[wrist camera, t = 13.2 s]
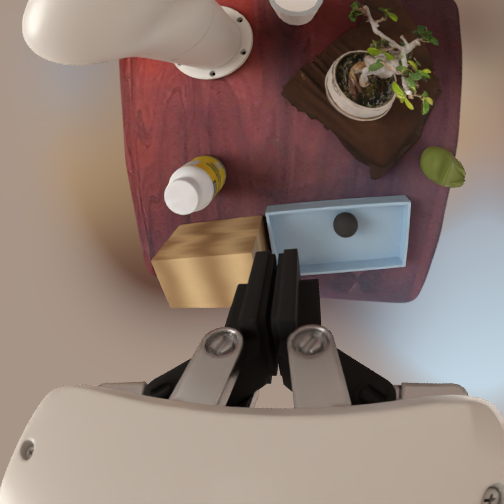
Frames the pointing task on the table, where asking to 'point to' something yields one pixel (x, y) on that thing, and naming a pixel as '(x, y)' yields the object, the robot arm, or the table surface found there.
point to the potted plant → (371, 85)
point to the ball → (345, 224)
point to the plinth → (209, 261)
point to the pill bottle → (195, 185)
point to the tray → (338, 248)
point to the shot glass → (296, 10)
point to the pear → (442, 167)
